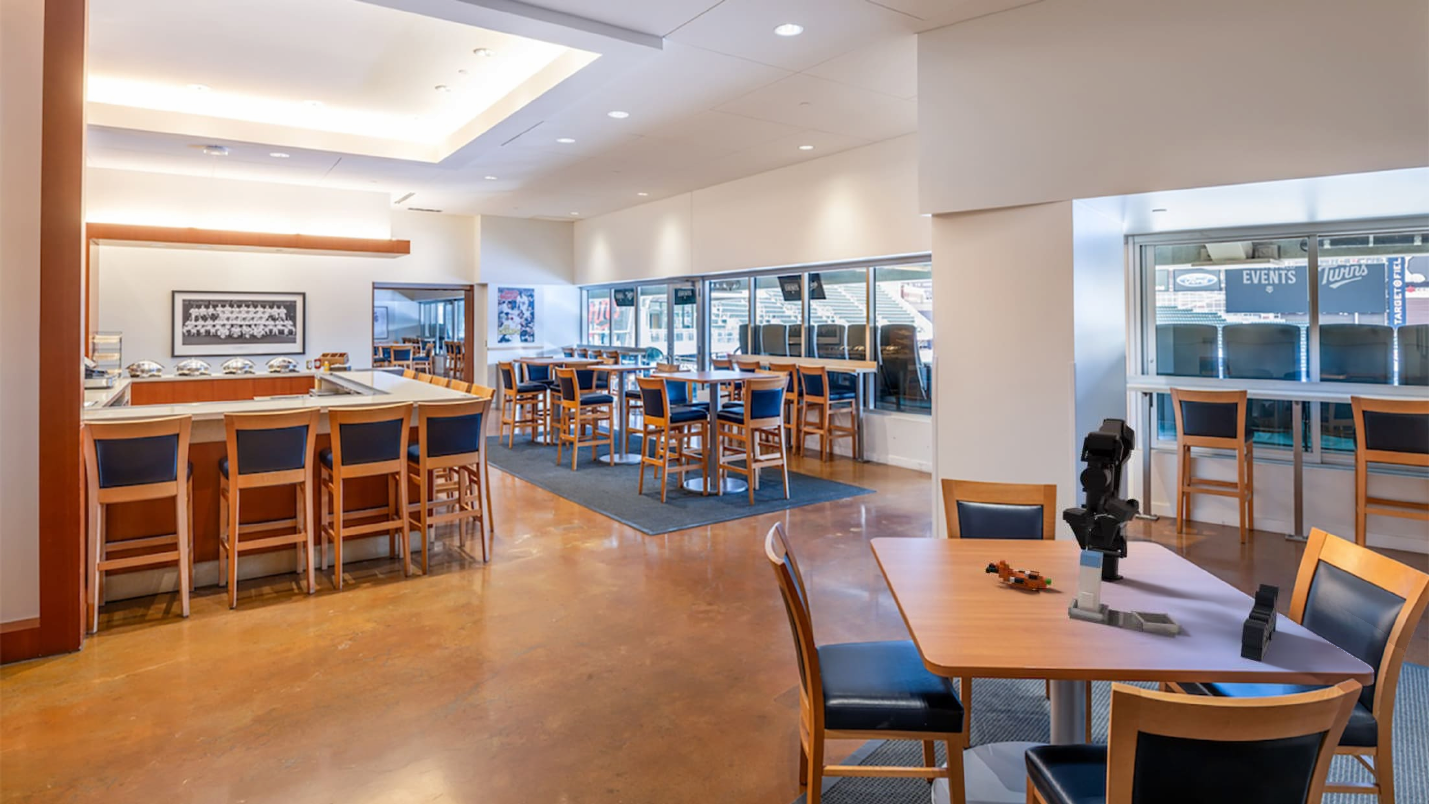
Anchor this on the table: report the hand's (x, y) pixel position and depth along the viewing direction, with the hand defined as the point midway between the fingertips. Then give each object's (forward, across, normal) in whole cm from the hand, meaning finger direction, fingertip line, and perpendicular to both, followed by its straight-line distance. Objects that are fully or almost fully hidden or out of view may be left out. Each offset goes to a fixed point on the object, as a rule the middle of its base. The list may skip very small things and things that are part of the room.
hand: (1095, 547), depth 178 cm
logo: (+12, +5, -34) cm, 36 cm away
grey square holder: (+12, -13, -8) cm, 19 cm away
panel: (+12, -9, -14) cm, 20 cm away
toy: (+12, -11, +13) cm, 21 cm away
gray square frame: (+12, -6, -19) cm, 23 cm away
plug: (+12, -13, -8) cm, 19 cm away
